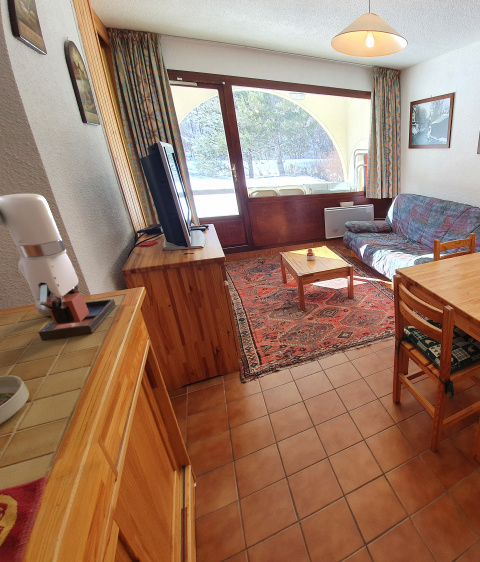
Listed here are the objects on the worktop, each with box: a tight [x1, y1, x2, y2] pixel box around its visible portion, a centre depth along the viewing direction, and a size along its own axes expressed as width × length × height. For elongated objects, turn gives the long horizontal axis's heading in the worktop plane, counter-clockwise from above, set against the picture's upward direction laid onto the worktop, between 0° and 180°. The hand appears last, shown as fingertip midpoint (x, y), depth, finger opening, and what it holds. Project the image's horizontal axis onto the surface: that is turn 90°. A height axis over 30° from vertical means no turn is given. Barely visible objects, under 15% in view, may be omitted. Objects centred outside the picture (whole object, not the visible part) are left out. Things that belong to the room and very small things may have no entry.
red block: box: [48, 292, 89, 325], centre depth 78 cm, size 5×5×6 cm
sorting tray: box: [37, 298, 117, 342], centre depth 83 cm, size 10×16×2 cm, turn 20°
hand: (71, 316), depth 79 cm, fingers closed on red block, 5 cm apart
